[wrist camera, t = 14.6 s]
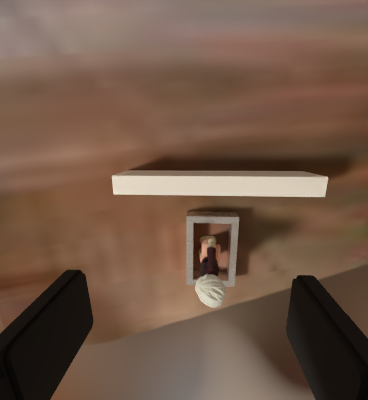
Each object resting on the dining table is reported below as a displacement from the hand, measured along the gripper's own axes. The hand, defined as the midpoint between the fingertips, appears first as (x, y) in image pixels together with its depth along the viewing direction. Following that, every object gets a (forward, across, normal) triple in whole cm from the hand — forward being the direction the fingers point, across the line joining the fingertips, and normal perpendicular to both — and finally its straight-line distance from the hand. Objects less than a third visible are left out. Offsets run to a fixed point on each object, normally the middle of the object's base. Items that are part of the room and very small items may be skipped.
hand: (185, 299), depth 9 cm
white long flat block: (+23, -3, -1) cm, 23 cm away
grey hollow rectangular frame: (+23, -2, +10) cm, 25 cm away
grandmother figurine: (+23, -2, +10) cm, 25 cm away
